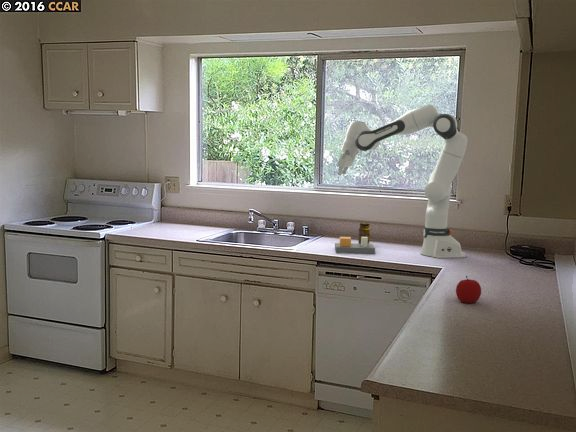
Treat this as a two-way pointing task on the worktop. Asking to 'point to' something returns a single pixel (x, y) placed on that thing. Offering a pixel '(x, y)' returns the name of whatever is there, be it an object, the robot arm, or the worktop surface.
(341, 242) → the lockout cap
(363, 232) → the condiment
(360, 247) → the grey flat slab
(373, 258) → the worktop surface
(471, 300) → the apple
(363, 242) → the button
